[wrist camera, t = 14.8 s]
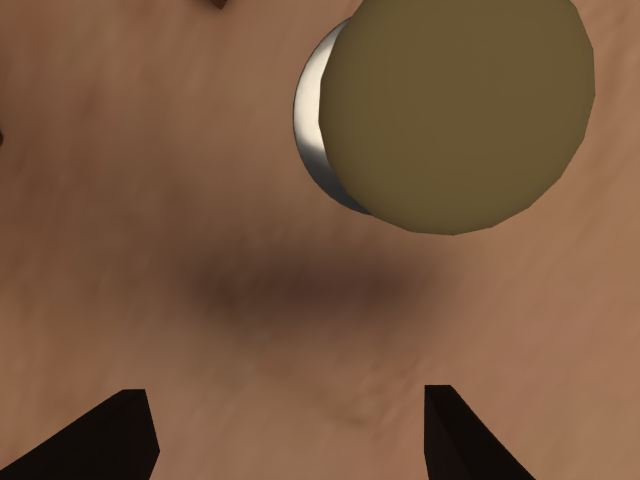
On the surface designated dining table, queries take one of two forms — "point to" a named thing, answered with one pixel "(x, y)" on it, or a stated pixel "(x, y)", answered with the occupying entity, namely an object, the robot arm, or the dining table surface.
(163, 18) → the dining table surface
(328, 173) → the silver flat disc
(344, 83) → the cork
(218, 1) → the frame
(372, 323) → the dining table surface
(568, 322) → the dining table surface
